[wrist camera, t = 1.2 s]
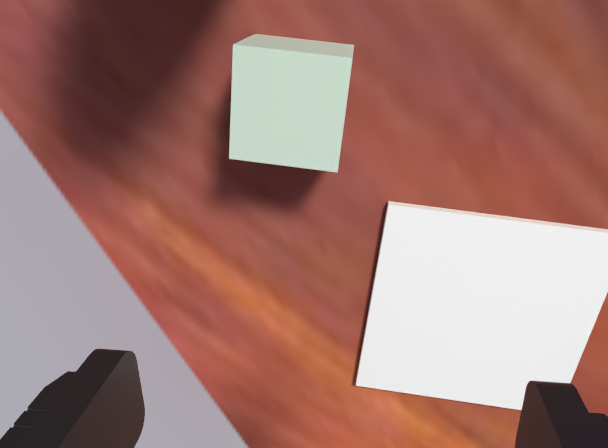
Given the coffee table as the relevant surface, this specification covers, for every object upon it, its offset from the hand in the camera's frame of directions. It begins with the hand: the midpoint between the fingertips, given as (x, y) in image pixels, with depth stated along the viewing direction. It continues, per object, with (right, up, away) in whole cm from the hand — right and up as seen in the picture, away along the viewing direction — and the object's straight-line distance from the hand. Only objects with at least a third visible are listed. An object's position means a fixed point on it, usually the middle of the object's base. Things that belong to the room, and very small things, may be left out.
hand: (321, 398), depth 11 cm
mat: (+10, -2, +21) cm, 23 cm away
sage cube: (-1, +11, +16) cm, 20 cm away
